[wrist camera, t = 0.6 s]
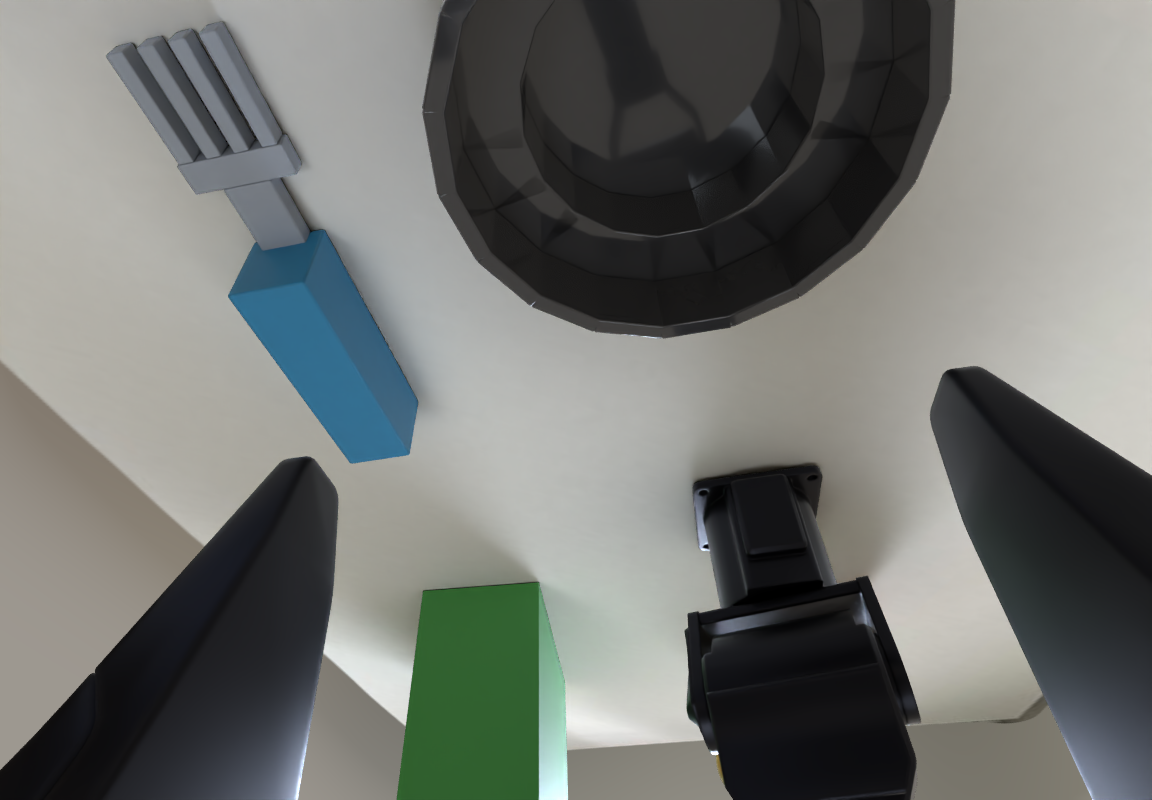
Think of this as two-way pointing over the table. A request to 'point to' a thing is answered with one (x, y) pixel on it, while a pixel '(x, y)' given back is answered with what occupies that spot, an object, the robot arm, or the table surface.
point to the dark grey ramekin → (679, 146)
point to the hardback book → (485, 699)
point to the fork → (274, 240)
